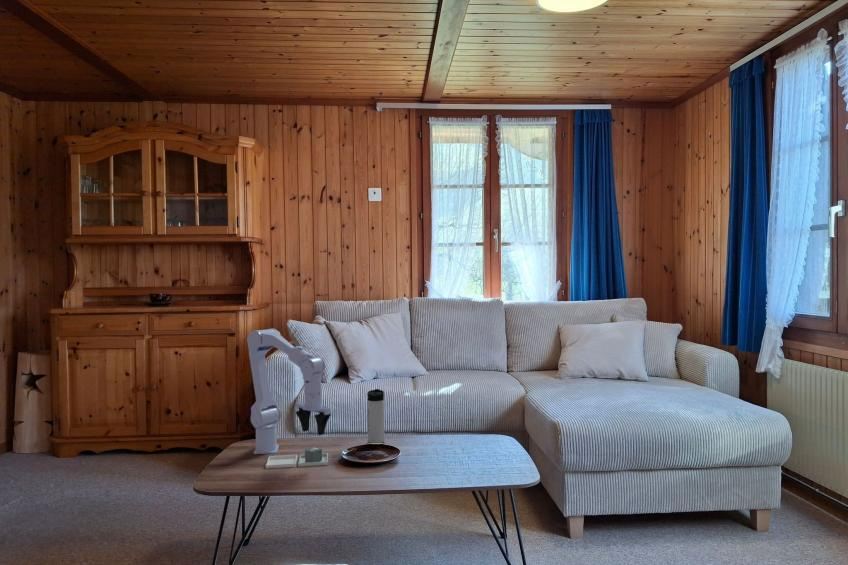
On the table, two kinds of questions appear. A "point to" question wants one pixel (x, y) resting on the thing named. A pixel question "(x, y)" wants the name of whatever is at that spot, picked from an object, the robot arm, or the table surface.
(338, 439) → the table surface
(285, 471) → the table surface
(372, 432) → the travel mug
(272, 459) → the tray
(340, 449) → the table surface
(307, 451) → the letter cube
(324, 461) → the tray
